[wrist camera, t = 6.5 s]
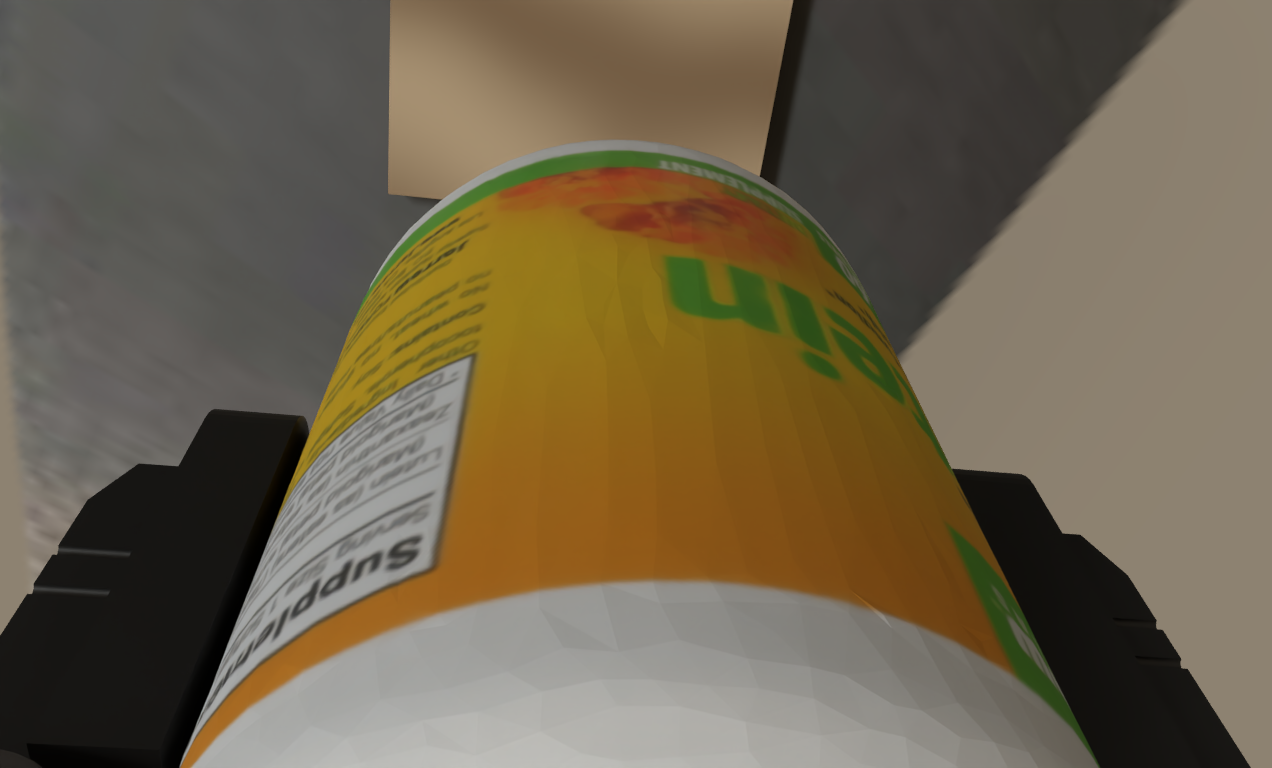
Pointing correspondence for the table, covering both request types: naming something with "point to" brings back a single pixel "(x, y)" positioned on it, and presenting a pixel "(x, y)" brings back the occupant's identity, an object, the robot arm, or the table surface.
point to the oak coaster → (575, 81)
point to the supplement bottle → (626, 508)
